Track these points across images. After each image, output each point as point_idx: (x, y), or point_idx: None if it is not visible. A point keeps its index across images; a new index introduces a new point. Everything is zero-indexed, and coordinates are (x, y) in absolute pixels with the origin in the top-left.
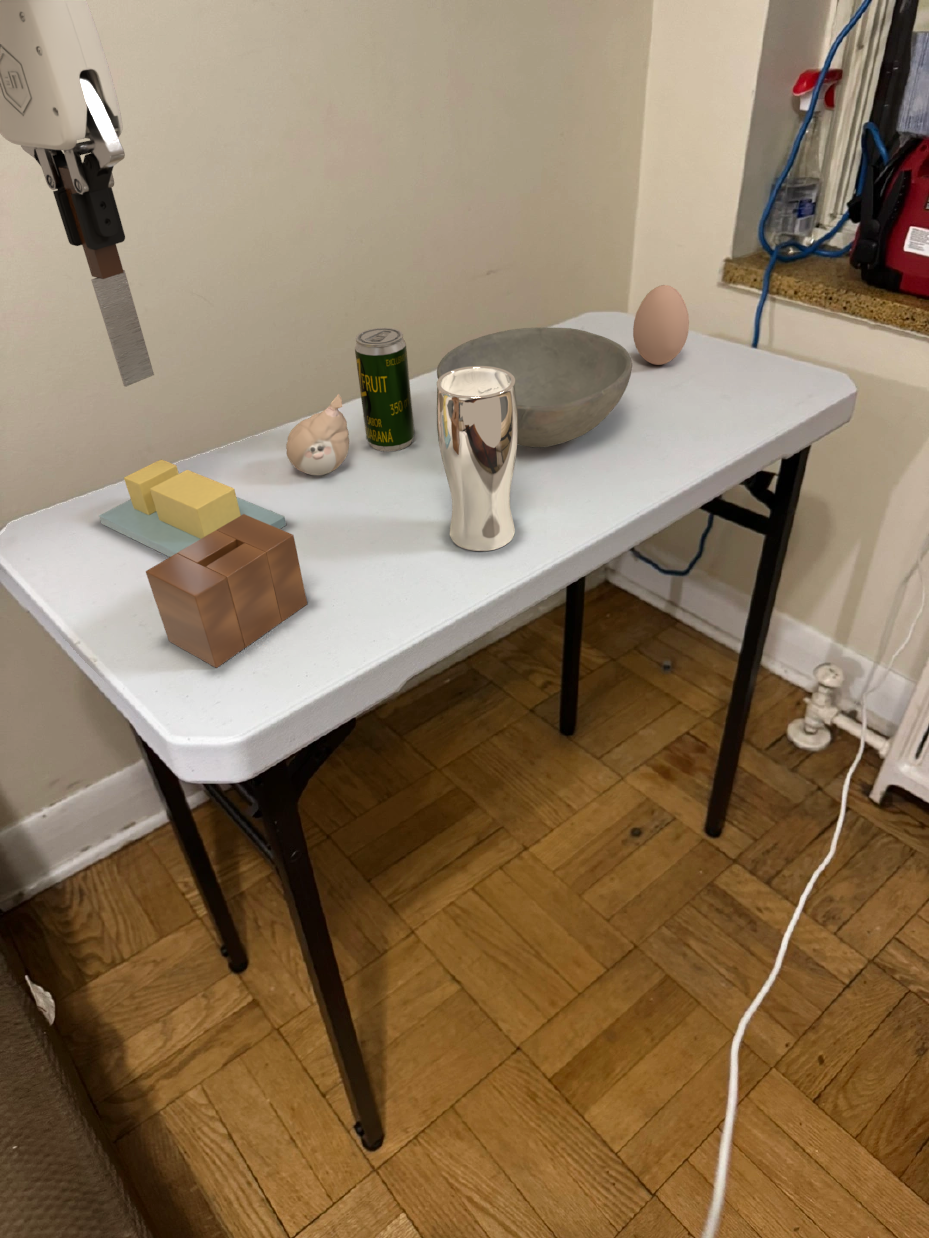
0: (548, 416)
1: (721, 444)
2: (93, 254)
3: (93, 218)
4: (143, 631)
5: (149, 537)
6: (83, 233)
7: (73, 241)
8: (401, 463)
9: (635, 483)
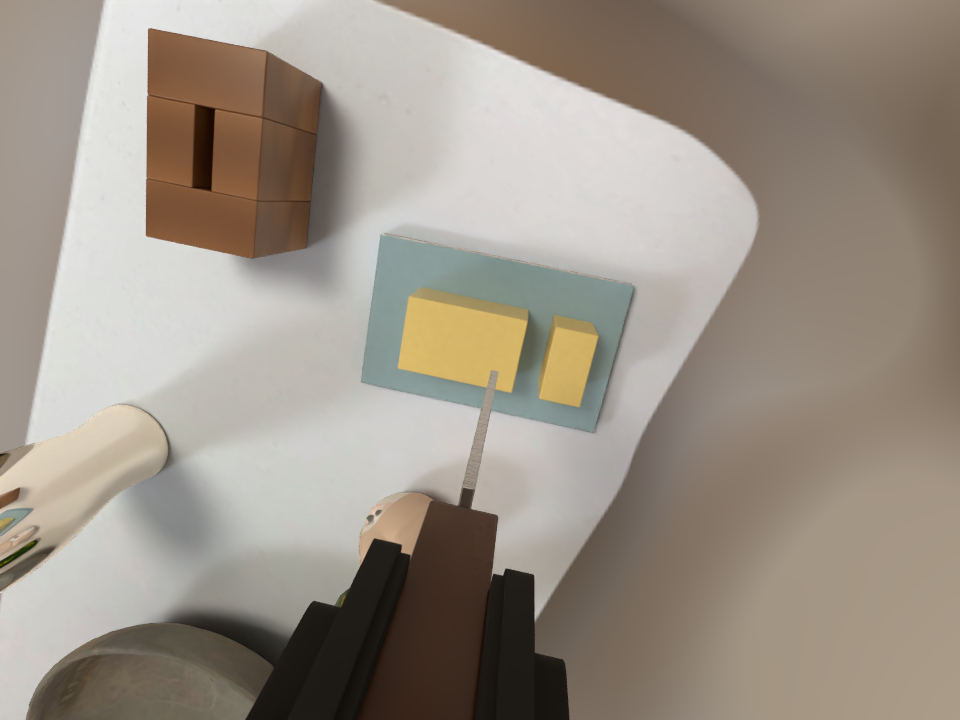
0: (81, 647)
1: (15, 693)
2: (430, 553)
3: (314, 658)
4: (370, 85)
5: (509, 264)
6: (379, 579)
7: (503, 578)
8: (323, 561)
9: (47, 592)
